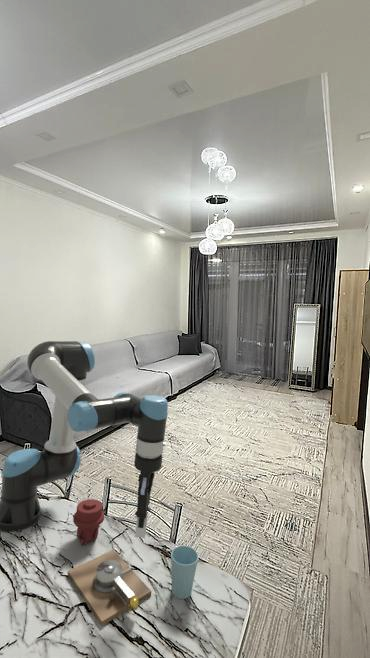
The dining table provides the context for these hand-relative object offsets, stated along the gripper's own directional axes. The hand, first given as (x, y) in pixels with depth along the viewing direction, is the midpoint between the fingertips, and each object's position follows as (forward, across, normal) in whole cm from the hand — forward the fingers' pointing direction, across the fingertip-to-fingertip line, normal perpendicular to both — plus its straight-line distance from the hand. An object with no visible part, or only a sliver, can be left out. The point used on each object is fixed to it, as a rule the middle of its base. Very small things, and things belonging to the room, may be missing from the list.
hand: (140, 535), depth 91 cm
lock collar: (+13, -4, +4) cm, 14 cm away
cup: (+15, +1, -13) cm, 20 cm away
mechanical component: (+16, +18, +20) cm, 31 cm away
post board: (+15, 0, +8) cm, 17 cm away
